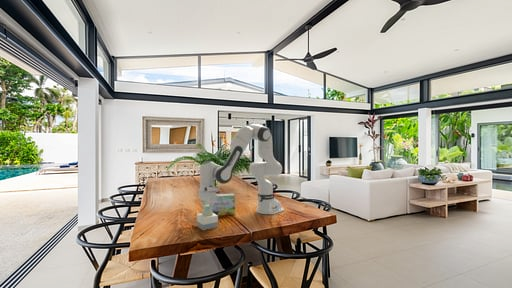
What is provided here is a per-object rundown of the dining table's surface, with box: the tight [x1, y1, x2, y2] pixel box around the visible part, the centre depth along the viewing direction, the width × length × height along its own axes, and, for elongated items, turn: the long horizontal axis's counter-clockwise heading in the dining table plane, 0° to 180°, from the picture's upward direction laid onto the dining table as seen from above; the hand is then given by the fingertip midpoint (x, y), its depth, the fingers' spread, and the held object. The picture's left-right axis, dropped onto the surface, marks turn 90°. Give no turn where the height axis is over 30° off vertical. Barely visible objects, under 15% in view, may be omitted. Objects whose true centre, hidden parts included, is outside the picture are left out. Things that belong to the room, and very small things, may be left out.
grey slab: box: [196, 220, 218, 231], centre depth 153 cm, size 10×10×4 cm
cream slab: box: [196, 213, 219, 225], centre depth 153 cm, size 10×10×4 cm
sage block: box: [201, 204, 213, 217], centre depth 153 cm, size 5×5×6 cm
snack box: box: [205, 193, 236, 216], centre depth 179 cm, size 21×6×15 cm, turn 101°
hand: (206, 208), depth 153 cm, fingers open, 8 cm apart
